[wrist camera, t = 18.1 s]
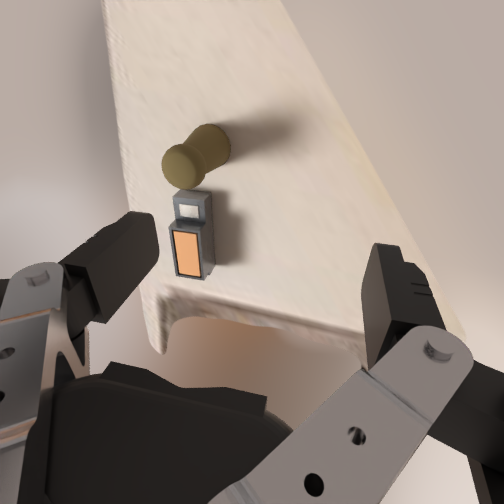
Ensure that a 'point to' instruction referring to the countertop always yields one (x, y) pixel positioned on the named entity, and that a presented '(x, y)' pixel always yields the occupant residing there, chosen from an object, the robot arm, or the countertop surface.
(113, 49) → the countertop surface
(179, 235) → the orange button
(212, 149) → the cork
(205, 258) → the grey slotted housing
